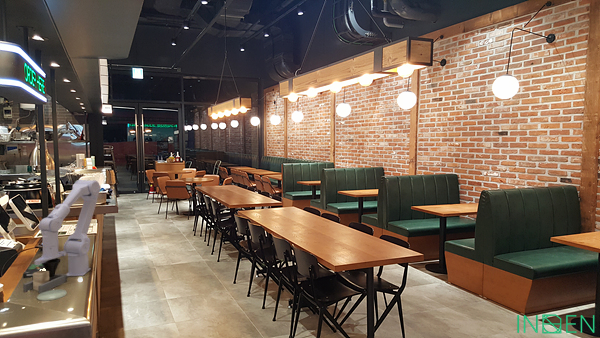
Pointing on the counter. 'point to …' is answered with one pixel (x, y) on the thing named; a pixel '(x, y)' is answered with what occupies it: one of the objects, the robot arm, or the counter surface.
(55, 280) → the slot rack
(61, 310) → the counter surface
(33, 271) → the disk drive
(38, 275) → the maple block
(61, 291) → the saucer
